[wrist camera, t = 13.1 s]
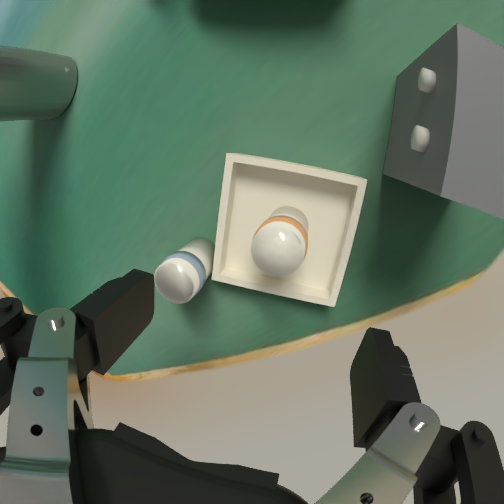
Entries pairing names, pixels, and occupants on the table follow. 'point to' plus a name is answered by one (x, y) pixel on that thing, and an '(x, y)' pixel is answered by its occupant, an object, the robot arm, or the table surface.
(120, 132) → the table surface
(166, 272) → the blue-band fuse
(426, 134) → the control box
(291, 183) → the parts tray
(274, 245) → the white orange rounded cylinder
